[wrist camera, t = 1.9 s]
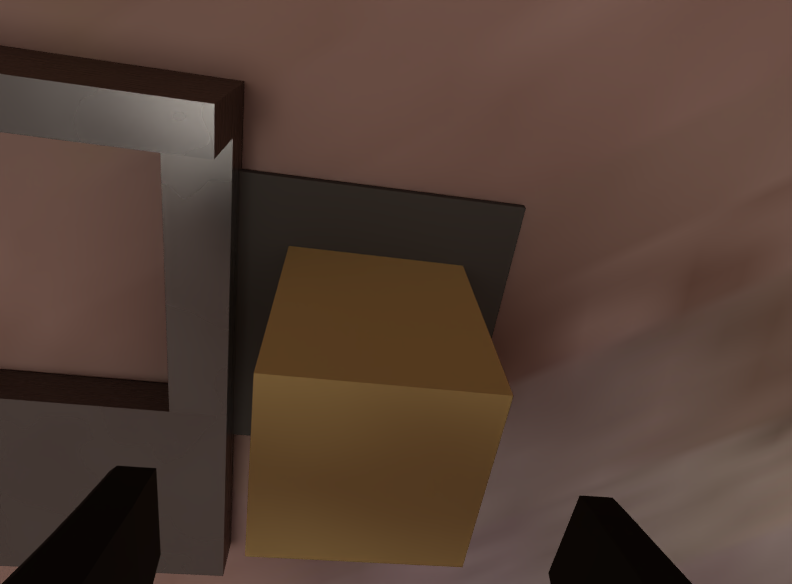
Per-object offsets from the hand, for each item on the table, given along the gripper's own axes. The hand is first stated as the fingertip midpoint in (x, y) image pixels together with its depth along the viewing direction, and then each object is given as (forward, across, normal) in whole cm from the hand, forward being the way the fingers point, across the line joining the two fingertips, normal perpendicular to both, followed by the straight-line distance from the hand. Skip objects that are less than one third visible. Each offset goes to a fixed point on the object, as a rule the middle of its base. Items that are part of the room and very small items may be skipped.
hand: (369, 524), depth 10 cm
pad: (+7, 0, 0) cm, 7 cm away
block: (+6, 0, 0) cm, 7 cm away
